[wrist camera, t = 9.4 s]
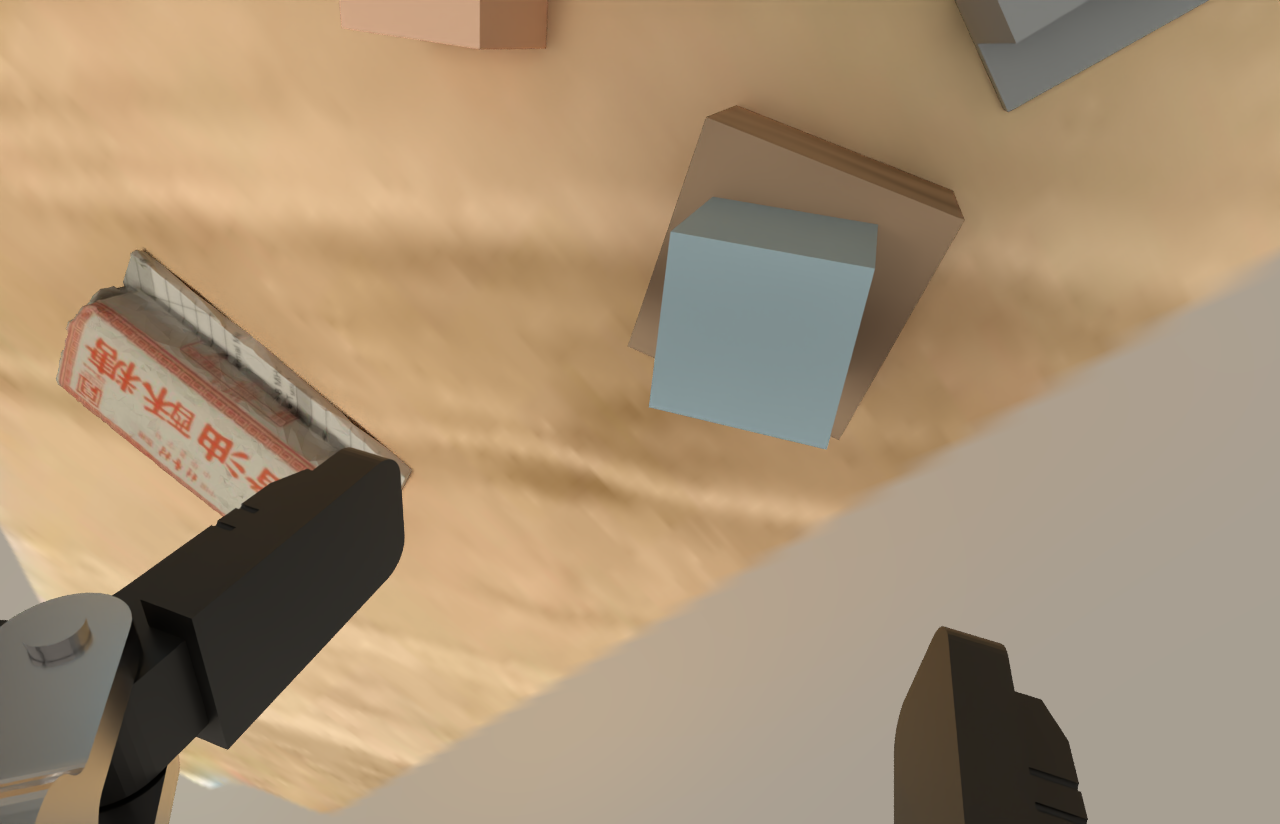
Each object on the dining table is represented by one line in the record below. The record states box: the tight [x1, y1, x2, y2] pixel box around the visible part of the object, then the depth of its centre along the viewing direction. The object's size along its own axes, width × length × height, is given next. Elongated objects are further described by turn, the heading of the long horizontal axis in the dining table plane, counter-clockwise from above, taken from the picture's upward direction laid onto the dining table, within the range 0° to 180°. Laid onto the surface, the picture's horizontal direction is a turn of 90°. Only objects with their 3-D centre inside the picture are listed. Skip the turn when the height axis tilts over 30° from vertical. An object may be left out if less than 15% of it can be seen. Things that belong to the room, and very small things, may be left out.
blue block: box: [649, 197, 878, 450], centre depth 21 cm, size 5×5×5 cm
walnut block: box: [628, 105, 964, 440], centre depth 25 cm, size 8×8×5 cm
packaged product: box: [56, 250, 412, 517], centre depth 38 cm, size 18×5×10 cm
